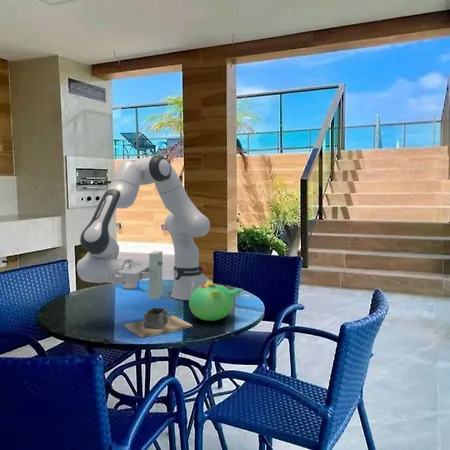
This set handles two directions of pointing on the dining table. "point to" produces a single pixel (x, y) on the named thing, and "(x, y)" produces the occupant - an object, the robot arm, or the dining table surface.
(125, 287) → the flask
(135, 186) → the robot arm
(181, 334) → the dining table surface
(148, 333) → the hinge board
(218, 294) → the toy bird
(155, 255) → the tall grey rectangular block
